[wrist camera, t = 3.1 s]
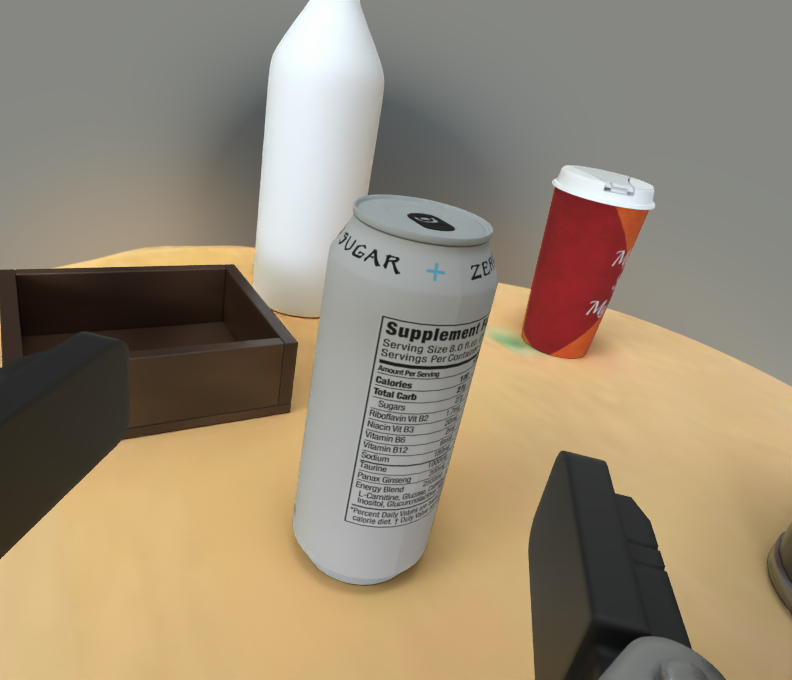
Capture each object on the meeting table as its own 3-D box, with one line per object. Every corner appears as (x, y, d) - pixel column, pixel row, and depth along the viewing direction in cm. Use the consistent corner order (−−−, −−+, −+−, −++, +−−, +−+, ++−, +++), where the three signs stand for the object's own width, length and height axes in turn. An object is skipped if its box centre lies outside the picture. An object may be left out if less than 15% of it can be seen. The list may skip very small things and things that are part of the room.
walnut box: (230, 323, 43) (234, 263, 41) (290, 412, 35) (298, 342, 33) (6, 340, 36) (-2, 269, 34) (13, 457, 28) (2, 371, 26)
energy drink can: (385, 483, 31) (448, 194, 24) (449, 572, 26) (547, 245, 20) (271, 509, 28) (308, 186, 21) (321, 614, 23) (387, 245, 17)
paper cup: (610, 372, 47) (677, 197, 41) (515, 355, 47) (569, 176, 41) (586, 330, 54) (641, 175, 48) (503, 315, 54) (548, 157, 48)
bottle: (275, 323, 45) (326, -189, 32) (237, 281, 50) (266, -167, 37) (368, 313, 49) (445, -138, 36) (323, 276, 55) (376, -125, 42)
